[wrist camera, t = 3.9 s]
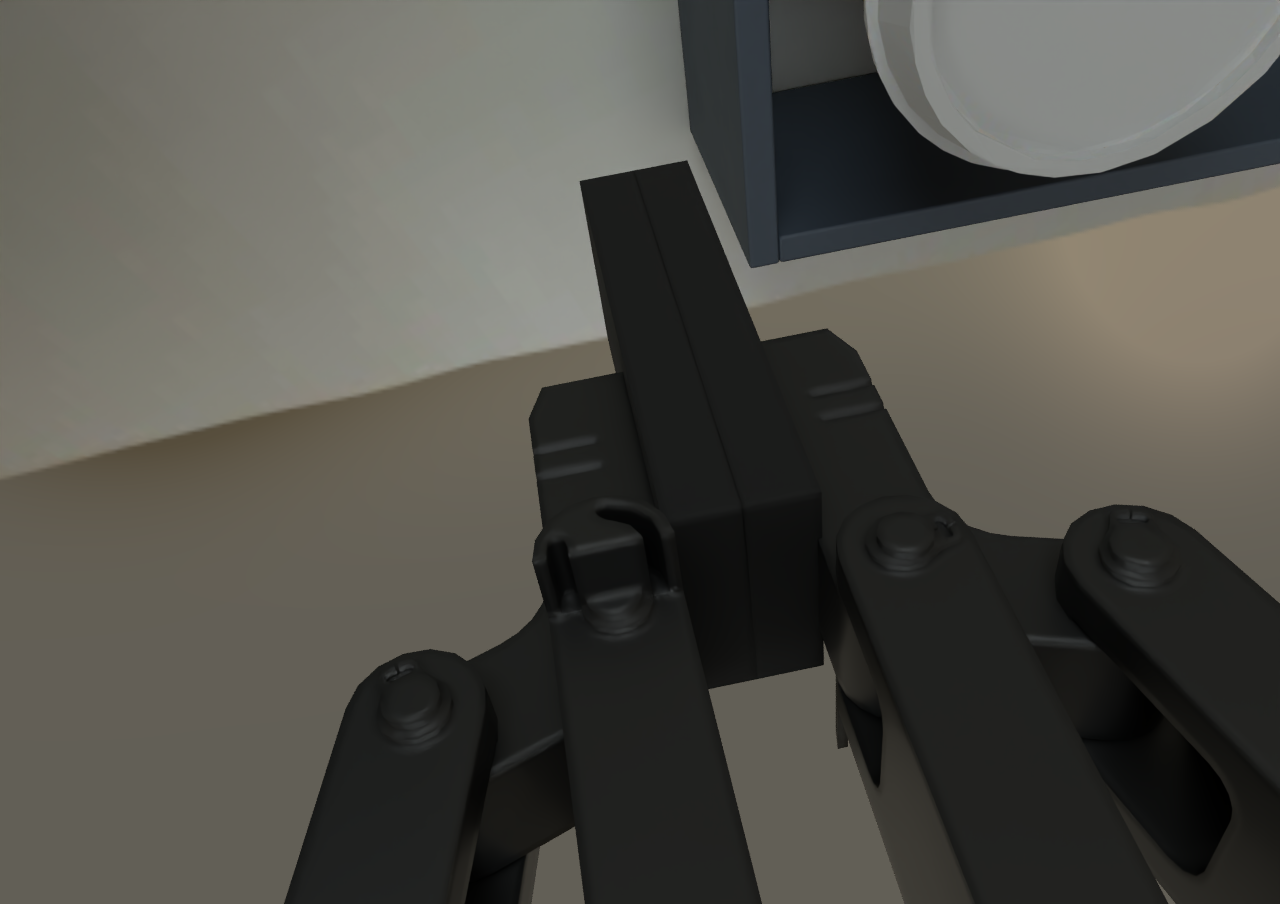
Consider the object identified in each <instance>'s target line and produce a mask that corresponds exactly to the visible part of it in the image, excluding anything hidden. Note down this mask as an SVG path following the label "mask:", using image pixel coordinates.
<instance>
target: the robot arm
mask: <svg viewBox="0 0 1280 904" xmlns="http://www.w3.org/2000/svg"><path fill="white" fill-rule="evenodd" d="M580 186H581V191H582V197H583V202H584V208H585V214H586V219H587V225H588V230H589V236H590V241H591V247H592V253H593V258H594V264H595V269H596V275H597V280H598V286H599V291H600V297H601V303H602V308H603V314H604V319H605V325H606V330H607V336H608V341H609V345H610V350H611V354H612V358H613V362H614V366H615V371H616V373H614V374H609V375H604V376H599V377H594V378H589V379H584V380H579V381H574V382H569V383H564V384H559V385H554V386H549V387H544V388H542V389H541V391H540V394H539V396H538V398H537V401H536V403H535V405H534V408H533V410H532V412H531V415H530V417H529V425H530V433H531V441H532V449H533V454H534V464H535V472H536V477H537V487H538V495H539V503H540V510H541V518H542V526H543V529H542V531H541V532H540V534H539V535H538V537H537V538H536V540H535V545H534V552H533V559H532V562H533V566H534V569H535V573H536V576H537V580H538V583H539V586H540V590H541V593H542V597H543V600H544V601H543V603H542V605H541V607H540V608H539V610H538V611H537V613H536V614H535V616H534V617H533V619H532V620H531V621H530V622H529V623H528V624H527V625H526V626H525V627H524V628H523V629H521V630H520V631H519V633H517V634H516V635H514V636H512V637H511V638H509V639H508V640H506V641H505V642H503V643H502V644H500V645H498V646H496V647H494V648H492V649H490V650H488V651H486V652H484V653H483V654H480V655H479V656H477V657H474V658H472V659H471V660H469V661H466V660H464V659H463V658H461V657H460V656H458V655H457V654H455V653H450V652H444V651H438V650H432V649H429V650H423V651H417V652H412V653H406V654H402V655H400V656H398V657H396V658H395V659H393V660H391V661H389V662H387V663H385V664H383V665H381V666H379V667H377V668H376V669H375V670H374V671H373V672H372V673H371V674H370V675H369V676H368V677H367V678H366V679H365V680H364V681H363V682H362V683H360V684H359V685H358V687H357V689H356V691H355V692H354V694H353V696H352V698H351V700H350V702H349V704H348V706H347V707H346V709H345V713H344V716H343V719H342V722H341V725H340V728H339V732H338V735H337V738H336V741H335V744H334V747H333V750H332V754H331V757H330V760H329V763H328V766H327V769H326V773H325V776H324V779H323V782H322V785H321V788H320V792H319V795H318V798H317V801H316V804H315V807H314V811H313V814H312V817H311V820H310V823H309V826H308V830H307V833H306V836H305V839H304V842H303V845H302V849H301V852H300V855H299V858H298V862H297V865H296V868H295V871H294V874H293V877H292V880H291V884H290V887H289V890H288V893H287V896H286V899H285V903H284V904H531V902H532V894H533V889H534V882H535V876H536V868H537V862H538V855H539V849H540V846H541V845H543V844H545V843H547V842H549V841H550V840H552V839H554V838H555V837H557V836H559V835H561V834H562V833H564V832H566V831H568V830H569V829H571V828H572V827H575V829H576V837H577V845H578V853H579V860H580V869H581V876H582V884H583V892H584V900H585V904H762V902H761V898H760V894H759V890H758V886H757V882H756V878H755V874H754V870H753V866H752V862H751V858H750V854H749V850H748V846H747V842H746V838H745V834H744V830H743V826H742V822H741V818H740V814H739V810H738V806H737V802H736V798H735V794H734V790H733V786H732V782H731V778H730V775H729V770H728V767H727V763H726V758H725V755H724V750H723V746H722V742H721V738H720V735H719V730H718V727H717V723H716V719H715V715H714V711H713V707H712V703H711V699H710V695H709V691H708V689H711V688H716V687H721V686H726V685H731V684H735V683H740V682H745V681H750V680H754V679H759V678H764V677H769V676H774V675H779V674H783V673H788V672H793V671H798V670H802V669H807V668H812V667H817V666H821V665H824V652H823V651H824V650H823V648H824V647H823V640H824V643H825V645H826V649H827V651H828V654H829V657H830V659H831V663H832V665H833V668H834V671H835V674H836V736H837V745H838V749H839V748H844V747H848V740H849V743H850V746H851V749H852V752H853V755H854V758H855V761H856V763H857V767H858V770H859V772H860V775H861V778H862V781H863V784H864V787H865V790H866V793H867V795H868V798H869V801H870V804H871V807H872V810H873V813H874V816H875V819H876V822H877V825H878V828H879V830H880V833H881V836H882V839H883V842H884V845H885V848H886V851H887V854H888V856H889V860H890V862H891V865H892V868H893V871H894V874H895V877H896V880H897V883H898V885H899V889H900V891H901V894H902V897H903V900H904V903H905V904H1168V902H1167V900H1166V898H1165V896H1164V895H1163V893H1162V891H1161V889H1160V887H1159V885H1158V883H1157V881H1158V882H1159V884H1160V885H1161V886H1162V887H1163V888H1164V890H1165V891H1166V892H1167V893H1168V895H1169V896H1170V897H1171V898H1172V899H1173V901H1174V902H1175V903H1176V904H1280V603H1279V602H1277V601H1276V600H1275V599H1274V598H1273V597H1272V596H1271V595H1269V594H1268V593H1267V592H1266V591H1265V590H1264V589H1263V588H1261V587H1260V586H1259V585H1258V584H1257V583H1255V582H1254V581H1253V580H1252V579H1251V578H1250V577H1249V576H1248V575H1246V574H1245V573H1244V572H1243V571H1242V570H1241V569H1239V568H1238V567H1237V566H1236V565H1235V564H1234V563H1233V562H1232V561H1230V560H1229V559H1228V558H1227V557H1226V556H1225V555H1224V554H1222V553H1221V552H1220V551H1219V550H1218V549H1216V548H1215V547H1214V546H1213V545H1212V544H1211V543H1210V542H1209V541H1208V540H1206V539H1205V538H1204V537H1203V536H1202V535H1201V534H1199V533H1198V532H1197V531H1196V530H1195V529H1193V528H1191V527H1190V526H1188V525H1187V524H1185V523H1183V522H1182V521H1180V520H1179V519H1177V518H1176V517H1174V516H1173V515H1170V514H1167V513H1164V512H1161V511H1157V510H1154V509H1151V508H1148V507H1145V506H1133V505H1111V506H1107V507H1103V508H1099V509H1094V510H1090V511H1088V512H1087V513H1086V514H1084V515H1083V516H1081V517H1080V518H1078V519H1077V520H1076V521H1074V522H1073V523H1071V525H1070V527H1069V529H1068V531H1067V533H1066V535H1065V537H1064V539H1053V538H1035V537H1017V536H1007V535H1000V534H993V533H988V532H985V531H982V530H979V529H976V528H973V527H970V526H968V525H966V524H965V522H964V521H963V520H962V519H961V518H960V516H959V515H958V514H957V513H956V512H954V511H952V510H951V509H949V508H947V507H945V506H943V505H942V504H940V503H938V502H936V501H935V500H934V499H933V497H932V496H931V494H930V493H929V491H928V490H927V488H926V486H925V484H924V482H923V480H922V478H921V476H920V474H919V472H918V470H917V468H916V466H915V464H914V462H913V460H912V458H911V456H910V454H909V452H908V450H907V448H906V446H905V445H904V443H903V441H902V439H901V437H900V435H899V433H898V431H897V429H896V427H895V425H894V423H893V421H892V419H891V417H890V415H889V413H888V411H887V409H884V406H883V402H882V400H881V398H880V396H879V394H878V392H877V390H876V388H875V386H874V385H872V382H871V378H870V376H869V374H868V372H867V370H866V368H865V366H864V364H863V362H862V360H861V359H860V356H859V354H858V353H857V351H856V350H855V349H854V348H852V347H851V346H850V345H848V344H847V343H846V342H844V341H843V340H842V339H840V338H839V337H837V336H836V335H835V334H833V333H832V332H831V331H829V330H828V329H822V330H817V331H812V332H807V333H802V334H797V335H792V336H787V337H782V338H777V339H771V340H766V341H760V339H759V336H758V334H757V331H756V329H755V326H754V324H753V321H752V319H751V317H750V314H749V312H748V309H747V307H746V304H745V302H744V299H743V297H742V294H741V292H740V289H739V287H738V285H737V282H736V280H735V277H734V275H733V272H732V270H731V267H730V265H729V262H728V260H727V257H726V255H725V253H724V250H723V248H722V245H721V243H720V240H719V238H718V235H717V233H716V230H715V228H714V225H713V223H712V221H711V218H710V216H709V213H708V211H707V208H706V206H705V203H704V201H703V198H702V196H701V193H700V191H699V189H698V186H697V184H696V181H695V179H694V176H693V174H692V171H691V169H690V166H689V164H688V161H682V162H677V163H671V164H666V165H661V166H656V167H651V168H645V169H640V170H635V171H630V172H625V173H619V174H614V175H609V176H604V177H599V178H593V179H588V180H583V181H580ZM1156 880H1157V881H1156Z"/></svg>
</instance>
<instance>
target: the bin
mask: <svg viewBox="0 0 1280 904" xmlns="http://www.w3.org/2000/svg"><path fill="white" fill-rule="evenodd" d="M678 6H679V17H680V27H681V37H682V47H683V58H684V68H685V78H686V89H687V99H688V109H689V119H690V130H691V133H692V135H693V137H694V140H695V142H696V144H697V146H698V149H699V151H700V153H701V156H702V158H703V160H704V162H705V165H706V167H707V169H708V172H709V174H710V176H711V179H712V181H713V183H714V185H715V188H716V190H717V192H718V195H719V197H720V199H721V202H722V204H723V206H724V208H725V211H726V213H727V215H728V218H729V220H730V222H731V225H732V227H733V229H734V231H735V234H736V236H737V238H738V241H739V243H740V245H741V248H742V250H743V252H744V254H745V257H746V259H747V261H748V264H749V266H750V267H751V268H755V267H760V266H765V265H770V264H775V263H778V262H779V260H780V261H781V262H785V261H790V260H795V259H800V258H805V257H810V256H815V255H820V254H825V253H830V252H835V251H840V250H845V249H850V248H855V247H860V246H865V245H871V244H876V243H881V242H886V241H891V240H896V239H901V238H906V237H911V236H916V235H921V234H926V233H931V232H936V231H941V230H946V229H951V228H956V227H961V226H966V225H971V224H977V223H982V222H987V221H992V220H997V219H1002V218H1007V217H1012V216H1017V215H1022V214H1027V213H1032V212H1037V211H1042V210H1047V209H1052V208H1057V207H1062V206H1067V205H1072V204H1077V203H1083V202H1088V201H1093V200H1098V199H1103V198H1108V197H1113V196H1118V195H1123V194H1128V193H1133V192H1138V191H1143V190H1148V189H1153V188H1158V187H1163V186H1168V185H1173V184H1178V183H1183V182H1188V181H1194V180H1199V179H1204V178H1209V177H1214V176H1219V175H1224V174H1229V173H1234V172H1239V171H1244V170H1249V169H1254V168H1259V167H1264V166H1269V165H1274V164H1279V163H1280V55H1279V57H1278V58H1277V59H1276V60H1275V62H1274V63H1273V64H1272V65H1271V66H1270V68H1269V69H1268V70H1267V71H1266V73H1265V74H1264V75H1263V76H1261V77H1260V78H1259V79H1258V80H1257V81H1256V82H1255V83H1253V84H1252V85H1251V86H1250V87H1249V88H1248V89H1247V90H1246V91H1244V92H1243V93H1242V94H1241V95H1240V96H1239V97H1238V98H1236V99H1235V100H1234V101H1233V102H1232V103H1231V104H1230V105H1229V106H1227V107H1226V108H1225V109H1224V110H1223V111H1222V112H1221V113H1220V114H1218V115H1217V116H1216V117H1215V118H1214V119H1213V120H1211V121H1210V122H1208V123H1206V124H1205V125H1203V126H1201V127H1200V128H1198V129H1196V130H1195V131H1193V132H1191V133H1190V134H1188V135H1186V136H1185V137H1183V138H1181V139H1179V140H1178V141H1176V142H1174V143H1173V144H1171V145H1169V146H1168V147H1166V148H1164V149H1163V150H1161V151H1159V152H1158V153H1156V154H1154V155H1151V156H1148V157H1145V158H1142V159H1139V160H1136V161H1133V162H1130V163H1127V164H1124V165H1122V166H1119V167H1116V168H1113V169H1110V170H1107V171H1104V172H1100V173H1091V174H1082V175H1073V176H1064V177H1055V178H1053V177H1045V176H1037V175H1028V174H1020V173H1016V172H1013V171H1010V170H1004V169H999V168H994V167H989V166H984V165H979V164H974V163H971V162H968V161H966V160H964V159H961V158H959V157H957V156H955V155H952V154H950V153H948V152H946V151H943V150H942V149H940V148H939V147H938V146H936V145H935V144H933V143H932V142H931V141H929V140H928V139H926V138H925V137H924V136H922V135H921V134H919V132H918V131H917V130H916V129H915V128H914V127H913V126H912V124H911V123H910V122H909V121H908V120H907V119H906V118H905V117H904V115H903V114H902V113H901V112H900V111H899V110H898V109H897V107H896V106H895V105H894V103H893V102H892V100H891V98H890V96H889V94H888V92H887V90H886V88H885V86H884V84H883V82H882V80H881V78H880V76H879V74H878V73H874V74H869V75H864V76H859V77H854V78H848V79H843V80H838V81H833V82H828V83H822V84H817V85H812V86H807V87H802V88H796V89H791V90H786V91H781V92H776V93H772V70H771V46H770V21H769V0H678Z"/></svg>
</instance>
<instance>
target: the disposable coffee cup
mask: <svg viewBox="0 0 1280 904" xmlns="http://www.w3.org/2000/svg"><path fill="white" fill-rule="evenodd" d="M863 1H864V22H865V26H866V31H867V35H868V40H869V44H870V49H871V53H872V58H873V62H874V64H875V66H876V69H877V71H878V74H879V76H880V78H881V80H882V82H883V84H884V86H885V88H886V90H887V92H888V94H889V96H890V98H891V100H892V102H893V103H894V105H895V106H896V107H897V109H898V110H899V111H900V112H901V113H902V114H903V115H904V117H905V118H906V119H907V120H908V121H909V122H910V123H911V124H912V126H913V127H914V128H915V129H916V130H917V131H918V132H919V134H921V135H922V136H924V137H925V138H926V139H928V140H929V141H931V142H932V143H933V144H935V145H936V146H938V147H939V148H940V149H942V150H943V151H946V152H948V153H950V154H952V155H955V156H957V157H959V158H961V159H964V160H966V161H968V162H971V163H974V164H979V165H984V166H989V167H994V168H999V169H1004V170H1010V171H1013V172H1016V173H1020V174H1028V175H1037V176H1045V177H1053V178H1055V177H1064V176H1073V175H1082V174H1091V173H1100V172H1104V171H1107V170H1110V169H1113V168H1116V167H1119V166H1122V165H1124V164H1127V163H1130V162H1133V161H1136V160H1139V159H1142V158H1145V157H1148V156H1151V155H1154V154H1156V153H1158V152H1159V151H1161V150H1163V149H1164V148H1166V147H1168V146H1169V145H1171V144H1173V143H1174V142H1176V141H1178V140H1179V139H1181V138H1183V137H1185V136H1186V135H1188V134H1190V133H1191V132H1193V131H1195V130H1196V129H1198V128H1200V127H1201V126H1203V125H1205V124H1206V123H1208V122H1210V121H1211V120H1213V119H1214V118H1215V117H1216V116H1217V115H1218V114H1220V113H1221V112H1222V111H1223V110H1224V109H1225V108H1226V107H1227V106H1229V105H1230V104H1231V103H1232V102H1233V101H1234V100H1235V99H1236V98H1238V97H1239V96H1240V95H1241V94H1242V93H1243V92H1244V91H1246V90H1247V89H1248V88H1249V87H1250V86H1251V85H1252V84H1253V83H1255V82H1256V81H1257V80H1258V79H1259V78H1260V77H1261V76H1263V75H1264V74H1265V73H1266V71H1267V70H1268V69H1269V68H1270V66H1271V65H1272V64H1273V63H1274V62H1275V60H1276V59H1277V58H1278V57H1279V55H1280V0H863Z"/></svg>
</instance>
